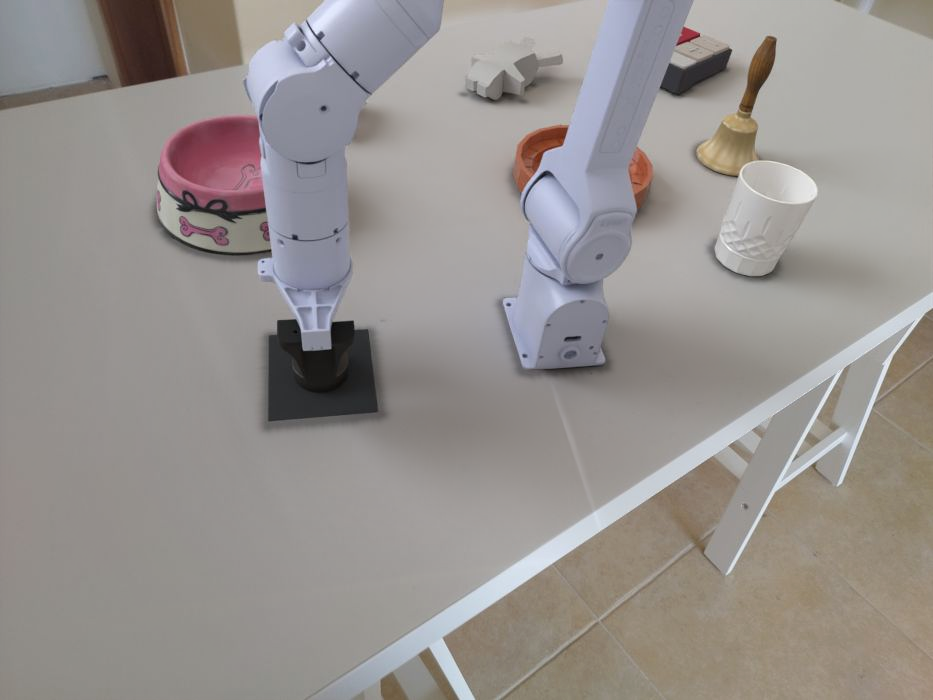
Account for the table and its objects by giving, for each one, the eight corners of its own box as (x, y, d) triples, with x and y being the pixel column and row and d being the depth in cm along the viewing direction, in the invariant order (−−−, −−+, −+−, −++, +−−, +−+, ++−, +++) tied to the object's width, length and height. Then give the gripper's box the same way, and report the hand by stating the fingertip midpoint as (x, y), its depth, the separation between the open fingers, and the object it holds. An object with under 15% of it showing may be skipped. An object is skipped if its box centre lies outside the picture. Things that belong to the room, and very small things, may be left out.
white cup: (695, 241, 83) (725, 165, 76) (751, 231, 86) (785, 156, 79) (735, 286, 79) (771, 208, 71) (794, 274, 81) (834, 197, 74)
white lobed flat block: (450, 58, 101) (522, 20, 108) (451, 91, 105) (520, 53, 112) (501, 84, 97) (572, 43, 104) (499, 118, 101) (568, 76, 108)
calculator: (735, 44, 114) (686, 65, 105) (725, 71, 117) (677, 94, 108) (675, 20, 118) (623, 38, 110) (667, 46, 121) (616, 66, 113)
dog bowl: (356, 179, 86) (355, 126, 81) (287, 275, 74) (281, 219, 69) (212, 145, 89) (203, 92, 84) (121, 233, 76) (104, 176, 71)
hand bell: (689, 164, 95) (731, 42, 84) (702, 136, 101) (744, 18, 89) (753, 183, 93) (805, 61, 82) (763, 154, 99) (813, 35, 87)
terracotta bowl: (664, 222, 86) (673, 197, 83) (530, 228, 83) (534, 201, 80) (620, 148, 96) (626, 124, 94) (500, 150, 94) (503, 125, 91)
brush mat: (378, 414, 62) (378, 411, 62) (268, 423, 61) (268, 420, 60) (367, 331, 69) (367, 328, 69) (269, 338, 67) (268, 335, 67)
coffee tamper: (350, 390, 63) (348, 332, 58) (293, 394, 62) (286, 336, 57) (347, 350, 67) (344, 292, 62) (292, 354, 66) (285, 295, 61)
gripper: (252, 162, 57) (270, 294, 67) (248, 286, 47) (269, 419, 57) (345, 161, 58) (349, 290, 68) (359, 281, 48) (361, 411, 58)
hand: (318, 348), depth 62 cm, fingers open, 7 cm apart
